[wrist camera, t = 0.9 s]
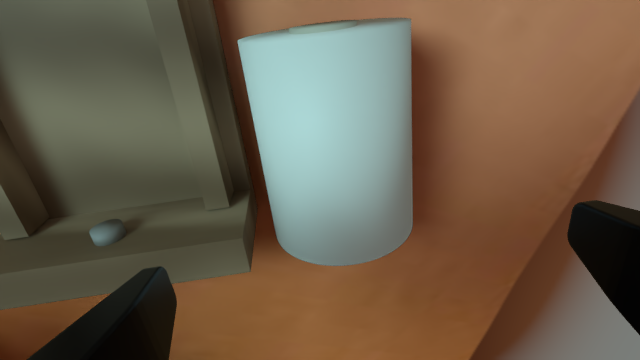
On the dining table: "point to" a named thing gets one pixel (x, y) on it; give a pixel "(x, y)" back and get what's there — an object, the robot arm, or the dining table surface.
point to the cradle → (117, 148)
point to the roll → (335, 135)
